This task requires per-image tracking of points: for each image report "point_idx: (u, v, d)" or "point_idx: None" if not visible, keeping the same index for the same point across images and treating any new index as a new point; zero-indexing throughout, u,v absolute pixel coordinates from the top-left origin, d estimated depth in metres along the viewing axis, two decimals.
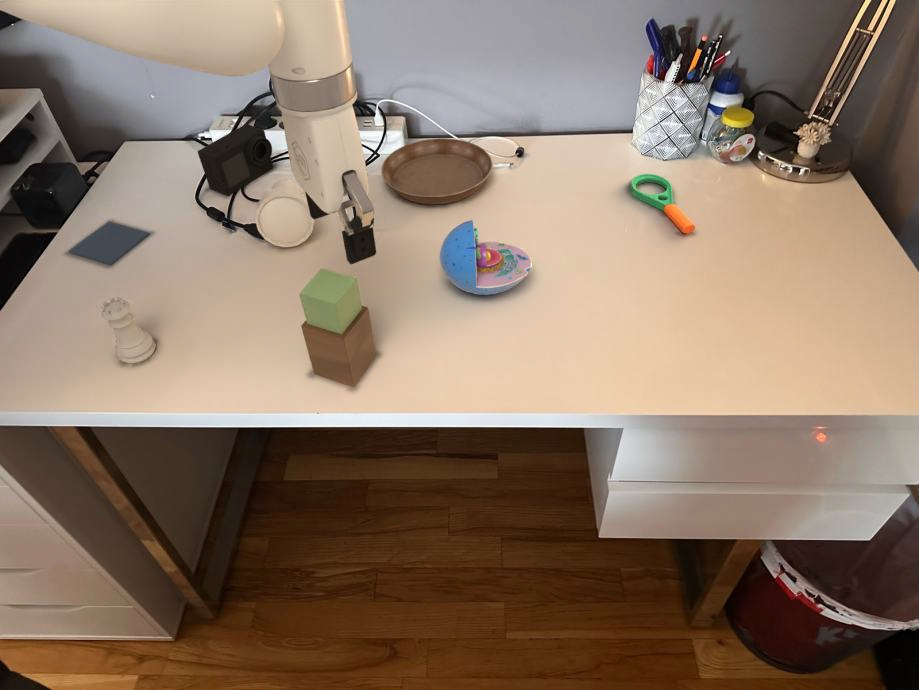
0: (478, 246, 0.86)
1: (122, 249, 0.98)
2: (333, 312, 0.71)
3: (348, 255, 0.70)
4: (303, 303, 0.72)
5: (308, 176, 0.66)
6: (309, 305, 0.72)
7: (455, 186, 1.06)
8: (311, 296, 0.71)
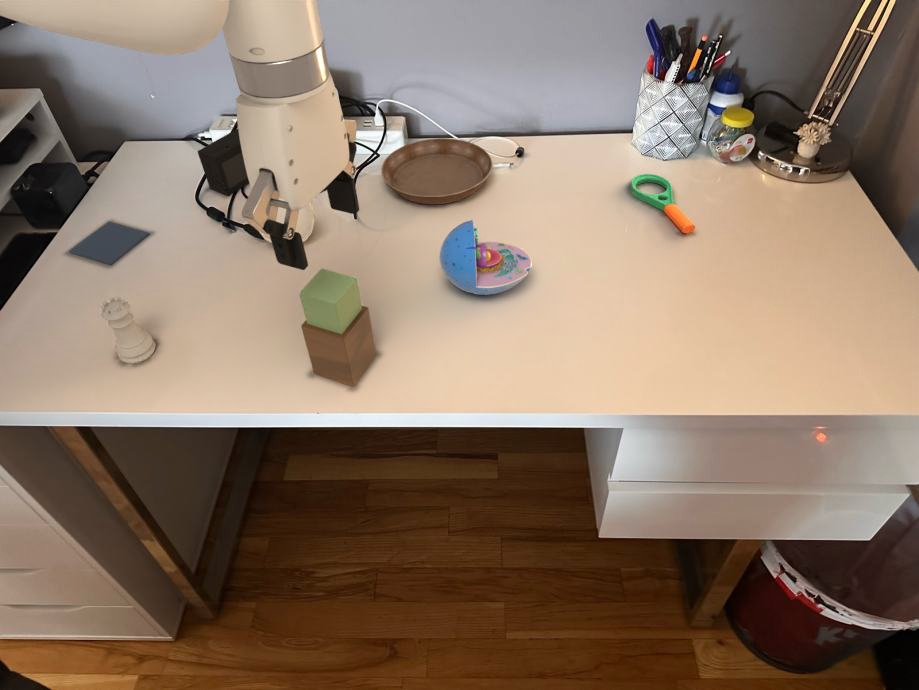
0: (478, 246, 0.86)
1: (122, 249, 0.98)
2: (333, 312, 0.71)
3: (275, 253, 0.64)
4: (303, 303, 0.72)
5: None
6: (309, 305, 0.72)
7: (455, 186, 1.06)
8: (311, 296, 0.71)
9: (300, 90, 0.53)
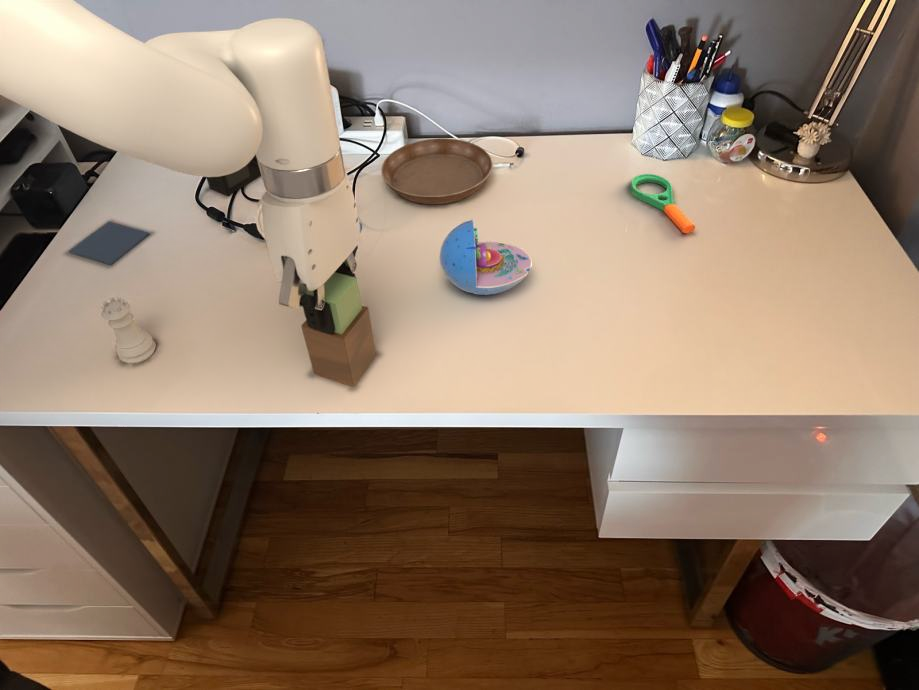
0: (478, 246, 0.86)
1: (122, 249, 0.98)
2: (333, 312, 0.71)
3: (306, 318, 0.72)
4: None
5: None
6: None
7: (455, 186, 1.06)
8: None
9: (320, 191, 0.60)
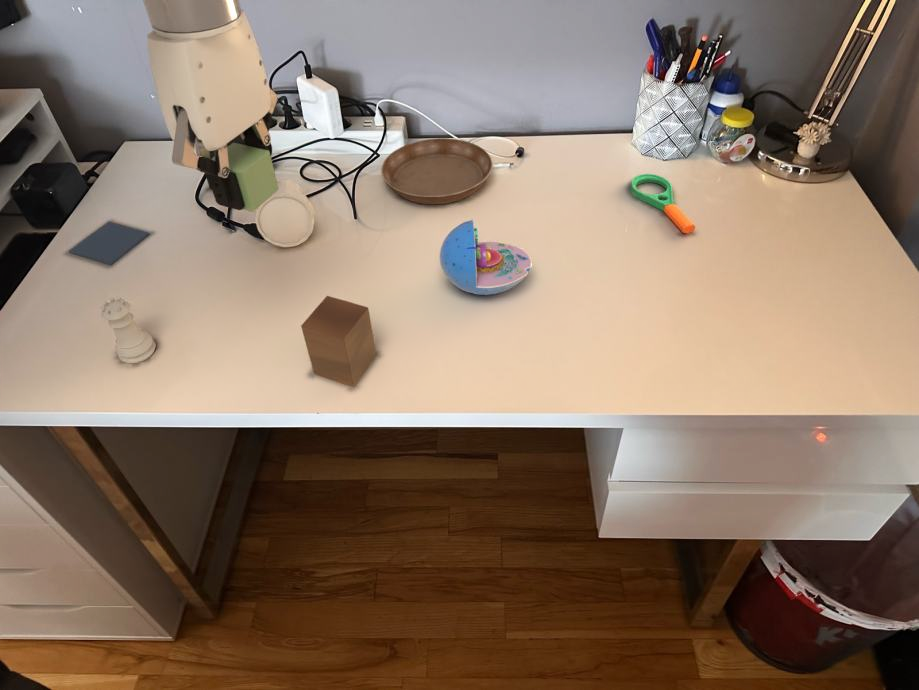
0: (478, 246, 0.86)
1: (122, 249, 0.98)
2: (241, 183, 0.66)
3: (214, 194, 0.67)
4: None
5: None
6: None
7: (455, 186, 1.06)
8: None
9: (208, 26, 0.55)
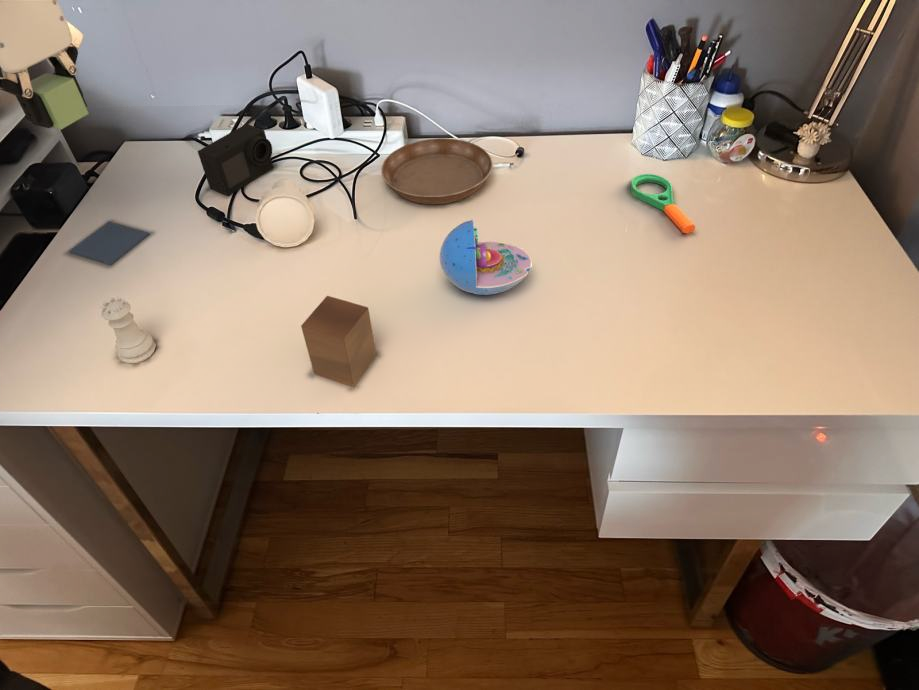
0: (478, 246, 0.86)
1: (122, 249, 0.98)
2: (45, 104, 0.79)
3: None
4: None
5: None
6: None
7: (455, 186, 1.06)
8: None
9: None
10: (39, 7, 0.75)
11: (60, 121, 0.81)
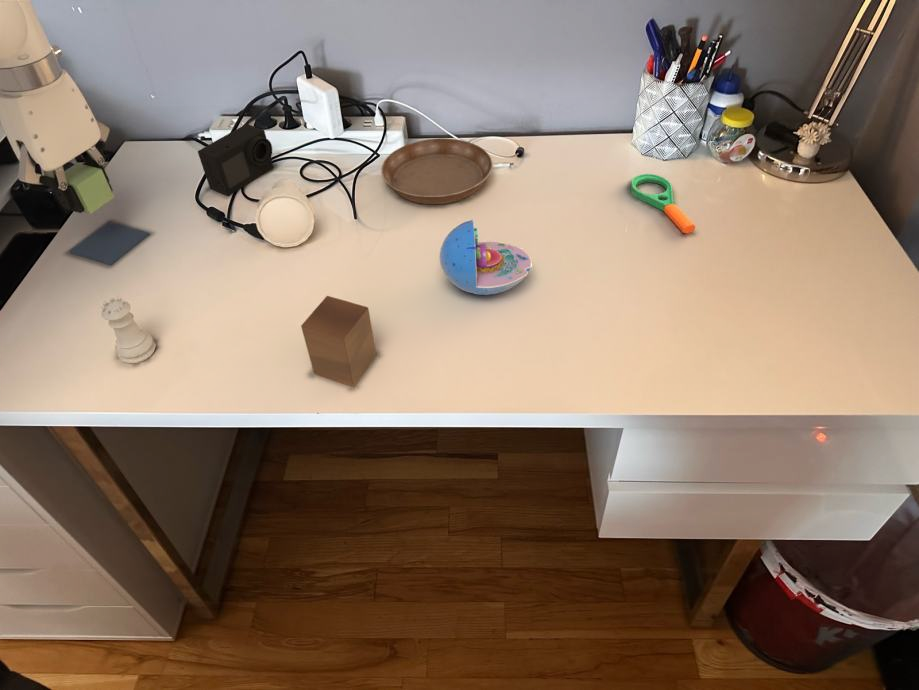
0: (478, 246, 0.86)
1: (122, 249, 0.98)
2: (78, 193, 0.90)
3: None
4: None
5: None
6: None
7: (455, 186, 1.06)
8: None
9: (32, 87, 0.79)
10: (73, 113, 0.86)
11: (90, 207, 0.92)
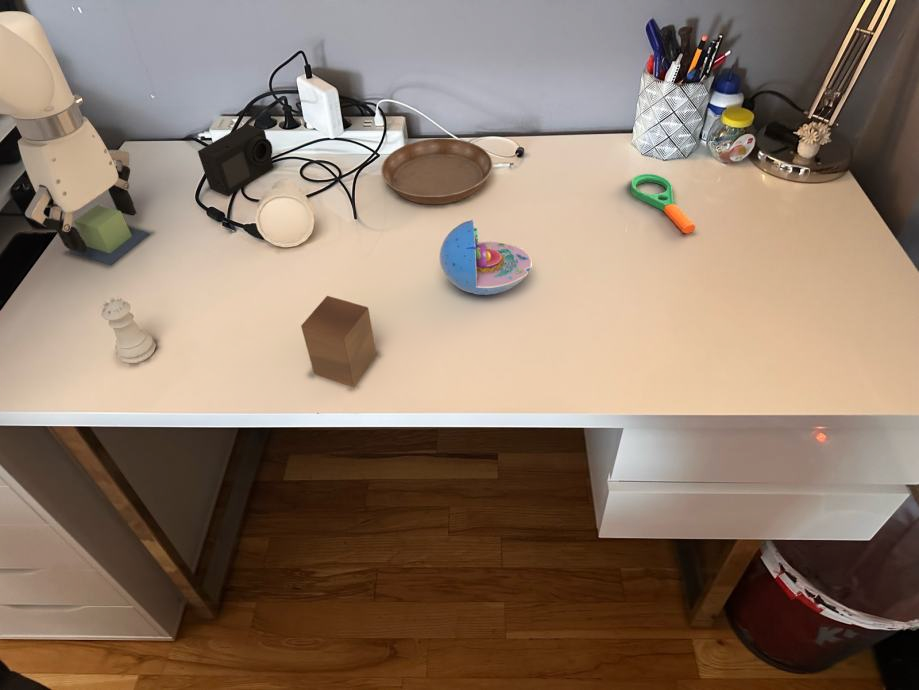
0: (478, 246, 0.86)
1: (122, 249, 0.98)
2: (98, 235, 0.95)
3: None
4: (78, 229, 0.96)
5: None
6: (82, 230, 0.96)
7: (455, 186, 1.06)
8: (82, 223, 0.95)
9: (56, 136, 0.83)
10: (93, 158, 0.90)
11: (109, 247, 0.97)
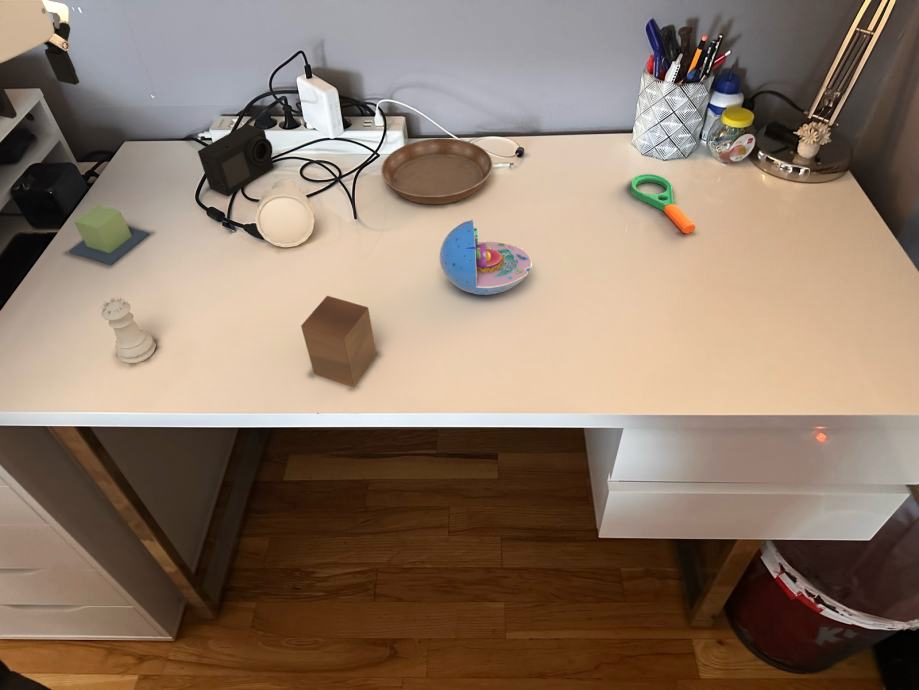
0: (478, 246, 0.86)
1: (122, 249, 0.98)
2: (98, 235, 0.95)
3: None
4: (78, 229, 0.96)
5: None
6: (82, 230, 0.96)
7: (455, 186, 1.06)
8: (82, 223, 0.95)
9: None
10: None
11: (109, 247, 0.97)
